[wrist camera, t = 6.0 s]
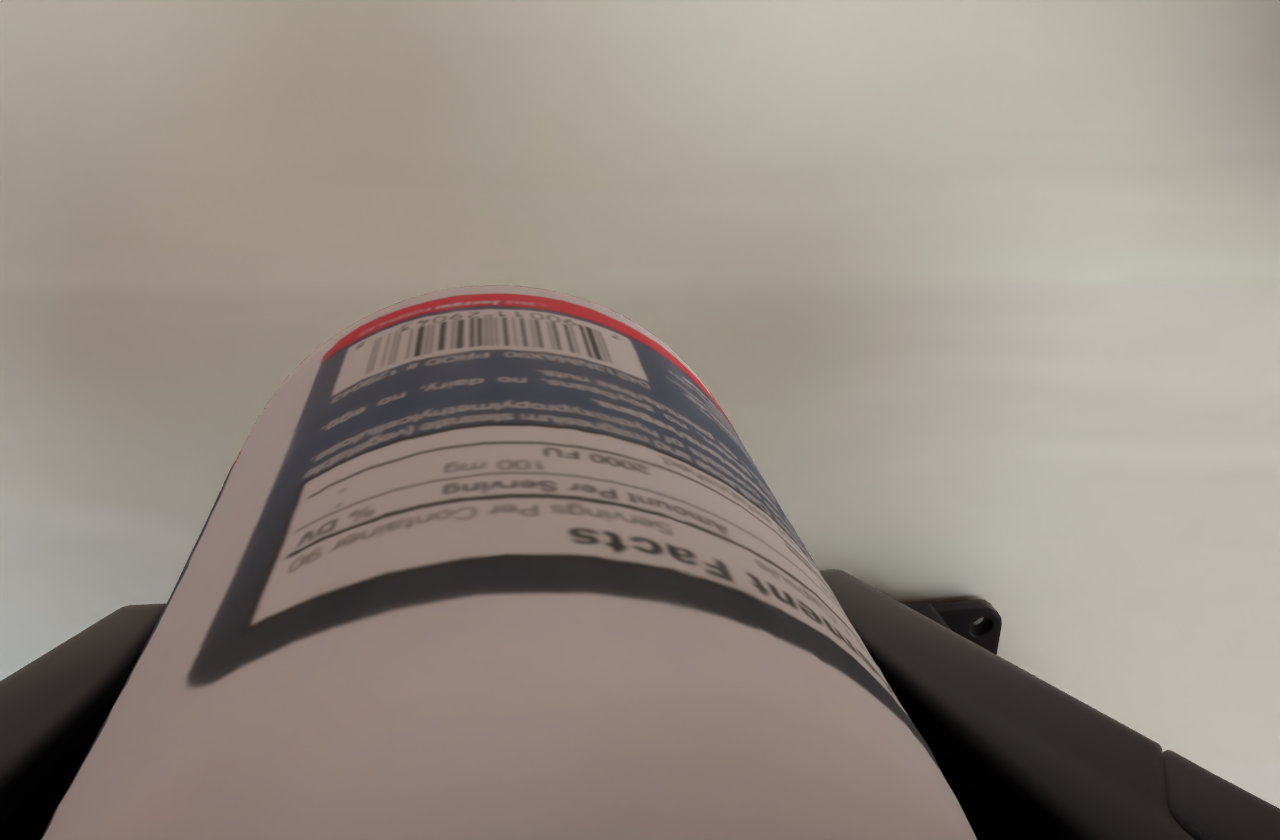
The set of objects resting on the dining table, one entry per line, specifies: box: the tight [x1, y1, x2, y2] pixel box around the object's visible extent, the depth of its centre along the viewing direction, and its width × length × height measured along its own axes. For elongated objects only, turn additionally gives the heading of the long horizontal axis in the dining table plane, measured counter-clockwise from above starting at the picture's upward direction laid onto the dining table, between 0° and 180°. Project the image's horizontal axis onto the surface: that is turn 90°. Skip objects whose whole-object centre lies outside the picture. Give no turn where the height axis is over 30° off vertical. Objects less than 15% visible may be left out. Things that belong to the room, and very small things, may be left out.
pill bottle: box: [41, 285, 977, 840], centre depth 7 cm, size 5×5×9 cm
